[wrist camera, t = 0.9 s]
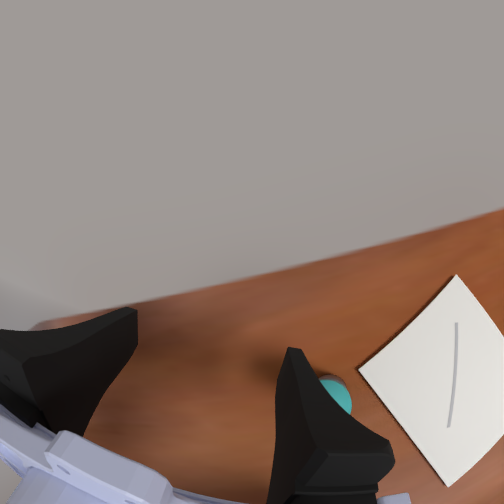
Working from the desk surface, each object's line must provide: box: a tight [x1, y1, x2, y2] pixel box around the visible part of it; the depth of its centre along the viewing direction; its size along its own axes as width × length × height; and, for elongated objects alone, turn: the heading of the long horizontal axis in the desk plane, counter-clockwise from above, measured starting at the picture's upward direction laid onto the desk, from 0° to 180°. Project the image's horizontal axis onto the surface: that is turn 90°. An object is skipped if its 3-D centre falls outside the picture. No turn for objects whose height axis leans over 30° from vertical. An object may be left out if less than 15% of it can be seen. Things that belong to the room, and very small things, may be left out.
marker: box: [318, 374, 352, 414], centre depth 17 cm, size 3×3×8 cm
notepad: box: [358, 275, 504, 487], centre depth 16 cm, size 16×12×1 cm
